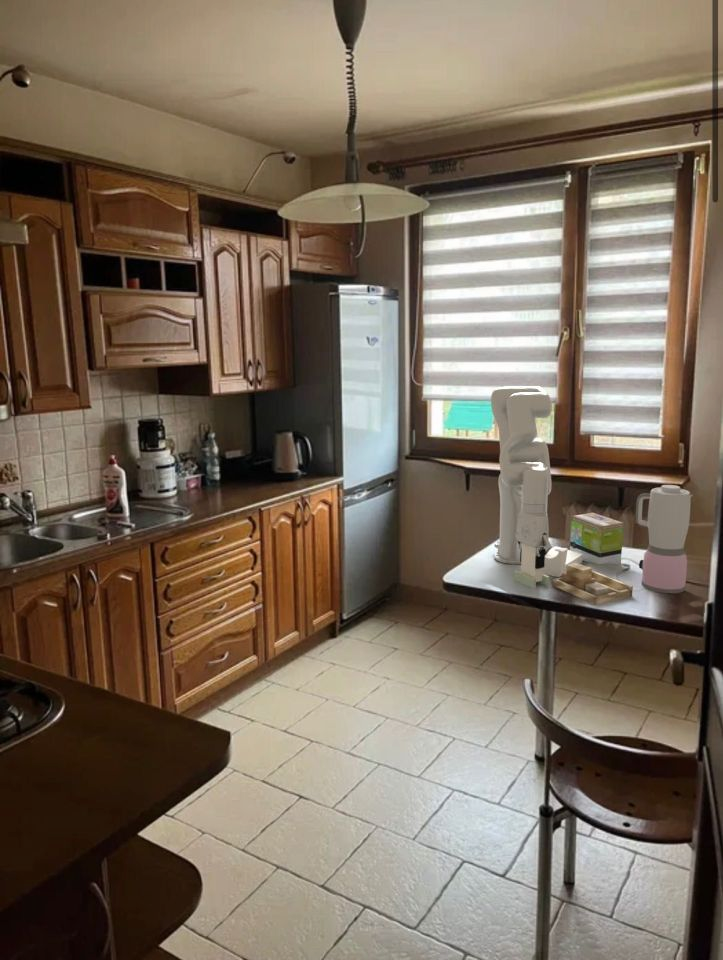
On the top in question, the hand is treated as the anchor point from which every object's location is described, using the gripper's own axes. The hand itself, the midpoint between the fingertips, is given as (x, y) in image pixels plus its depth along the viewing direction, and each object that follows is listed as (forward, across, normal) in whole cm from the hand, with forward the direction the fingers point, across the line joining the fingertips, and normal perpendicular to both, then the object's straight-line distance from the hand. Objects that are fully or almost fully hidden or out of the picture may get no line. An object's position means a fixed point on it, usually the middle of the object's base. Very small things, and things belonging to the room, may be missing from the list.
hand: (532, 564), depth 218 cm
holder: (+7, 0, 0) cm, 7 cm away
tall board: (+5, 0, 0) cm, 5 cm away
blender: (+7, +20, +32) cm, 38 cm away
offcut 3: (+6, +19, +8) cm, 22 cm away
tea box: (+7, -10, +36) cm, 38 cm away
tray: (+7, +14, +11) cm, 19 cm away
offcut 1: (+2, +11, +9) cm, 14 cm away
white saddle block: (+8, -8, +17) cm, 20 cm away
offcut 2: (+6, +11, +9) cm, 15 cm away
